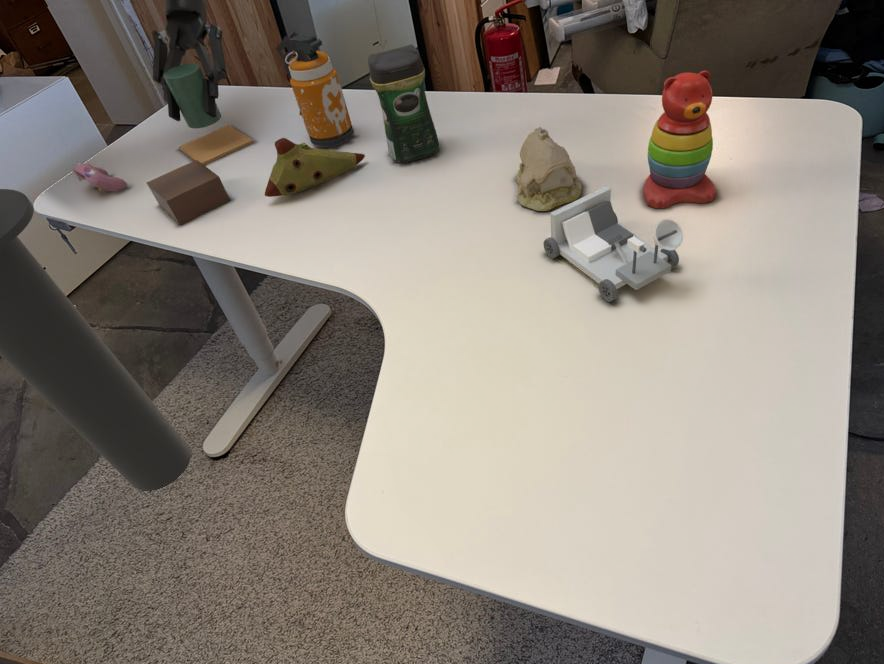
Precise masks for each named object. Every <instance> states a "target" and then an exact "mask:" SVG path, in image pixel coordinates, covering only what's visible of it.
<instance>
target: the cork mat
mask: <svg viewBox="0 0 884 664" xmlns="http://www.w3.org/2000/svg"><path fill="white" fill-rule="evenodd" d="M253 143H254V140H253V139H252V138H250V137H249V136H248V135H246V134H244V133H242V132H241V131H240V130H238V129H236V128H235V127H233V126H231V125H230V124H227V125H224V126H223V127H220V128H218V129H215V130H213V131H211V132H209V133H207V134H204V135H202V136H200V137H197V138H195V139H193V140H191V141H188V142H185V143H183V144H182V145H179V146H178V147H177V148H178V150H179V151H181V152H182V153H183V154H185V155H186V156H187V157H189V158H190V160H191V159H192V160H193V161H195V160H198V161H199V162H200V163H202V164H203V165H204V166H206V165H208V164H210V163H212V162H214V161H217V160H218V159H220V158H223V157H225V156H227V155H229V154H232V153H234V152H236V151H238V150H240V149H242V148H245V147H247V146H249V145H252V144H253Z"/></svg>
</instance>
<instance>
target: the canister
mask: <svg viewBox="0 0 884 664" xmlns="http://www.w3.org/2000/svg"><path fill="white" fill-rule="evenodd" d="M322 45H323V41H322V40H321V39H319V38H318V39H317V36H316V35H314V34H312V35H305V34H298V33H297V32H296V31H293V32H292V33H291V34H290V36H289V37H288V36H287V35H285V36H284V37H283V38H282V40H281V41H280V42H279V44H278V45H277V46H276V48H275V50H276V51H277V54H279V57H280V58H281V60H282V63H283V65H284V69H285V72H286V75H287V77H288V80H289V83H290V85H291V88H292V92H293V94H294V98H295V100H296V103H297V107H298V109H299V116H301V118H302V121H303V123H304V126H305V129H306V132H307V134H308V137H309V141H310V143H311V144H312V145H314V146H316V147H321V148H329V147H335V146H338V145H339V146H340V144H343V143H345V142H346V141H348V140H349V139H351V138H352V137H353V135H354V133H355V131H354V126H353V124H352V120H351V117H350V113H349V109H348V106H347V102H346V99H345V97H344V92H343V89H342V85H341V81H340V78H339V74H338V72H337V69H336V68H335V67H333V65H332V61H331V58H330V56H328V54H327V53H326V52H325V51H322V50H319V48H320V47H321V46H322ZM284 49H286V50H287V51H286V53H283V51H284Z"/></svg>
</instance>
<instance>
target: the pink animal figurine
mask: <svg viewBox="0 0 884 664" xmlns="http://www.w3.org/2000/svg"><path fill="white" fill-rule="evenodd" d="M71 172H72V173H74V174H75V175H76V176H75V179H77V181H79V182H83V180H84V181H87V182H88V183H89V184H90V185H91V186H94V187H95V188H98V190H99V192H105V193H108V192H109V191H115V192H117V191H118V192H119V191H124V190H125V189H127V187H128V183H127V181H125V180H124V179H123V178H120V177H116V176H110V175H109V172H108V171H107V170H106V169H104V168H102V167H97V166H93V164H91V163H85V162H82V163H81V162H78V164H75V165H74V167H73V169H72V170H71Z"/></svg>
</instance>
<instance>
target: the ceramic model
mask: <svg viewBox="0 0 884 664" xmlns="http://www.w3.org/2000/svg"><path fill="white" fill-rule="evenodd" d="M519 157H520V160H521V162H520V163H519V169H518V171H517V176H516V183H517V184H518V190H517V200H518V203H519V204H520V205H521V206H523V207H524V208H525V207H526V208H528V209H531V210H533V211H538V212H539V211H540V212H548V211H551V210H552V209H555V208H556V207H559V206H562V205H565V204H569V203H572V202H574V201H576V200H578V199H579V197H581V194H582V189H583V181H582V180H581V178H580V177H579V176H578V175H577V171H576V167H575V165H574V164H573V162H572V159H571V158H570V155H569V153H568V151H567V149H565V147H564V146H561V145H560V144H558V143H557V142H555V141H554V140H553V138H552V137H550V135H549V131H548V130H547V129H546V128H545V129H544V128H542V127H541V126H540V127H536V128H535V129H534V130H533V131H532V132H530V133H528V134H527V137H526V138H525V140H524V141H523V143H522V145H521V147H520V150H519Z"/></svg>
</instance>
